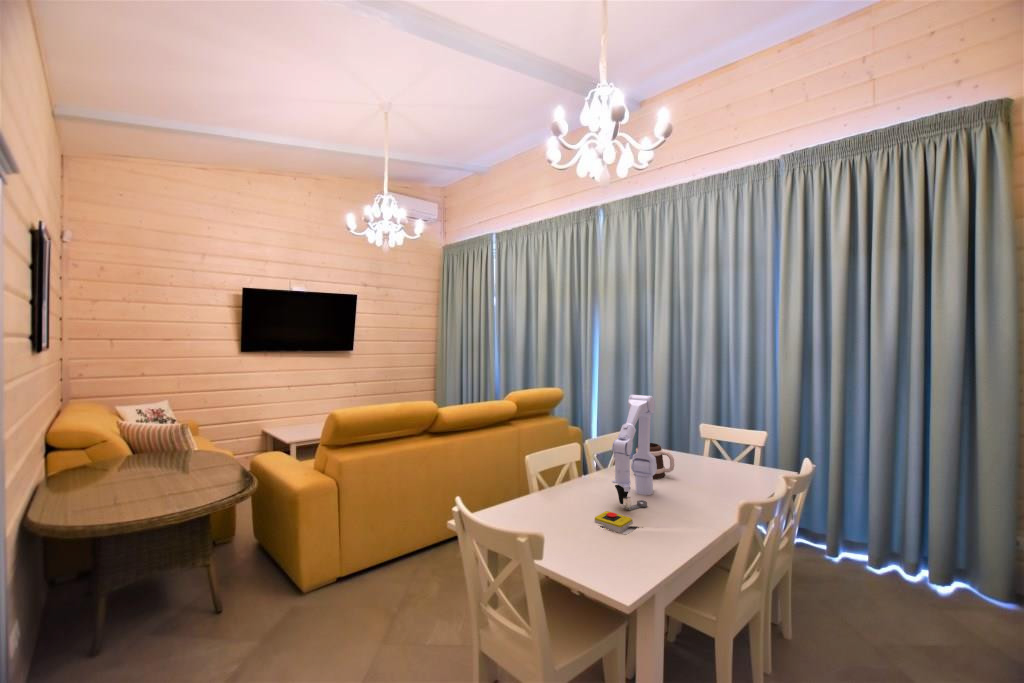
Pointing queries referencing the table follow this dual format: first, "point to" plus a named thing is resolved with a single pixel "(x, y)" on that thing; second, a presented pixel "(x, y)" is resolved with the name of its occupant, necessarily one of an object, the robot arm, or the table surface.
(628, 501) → the crank
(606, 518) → the emergency button
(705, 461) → the table surface
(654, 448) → the mug
